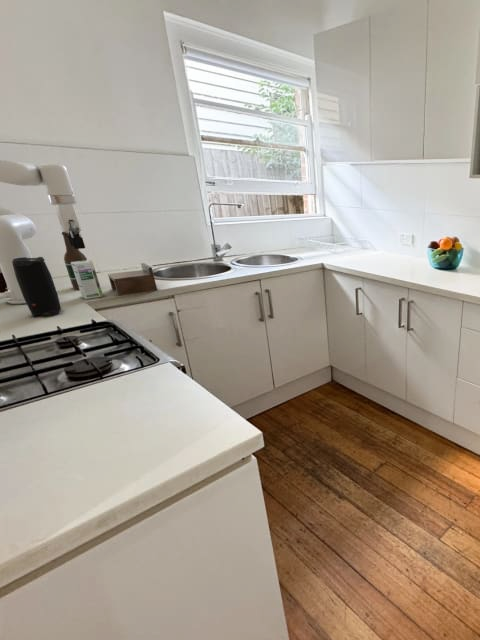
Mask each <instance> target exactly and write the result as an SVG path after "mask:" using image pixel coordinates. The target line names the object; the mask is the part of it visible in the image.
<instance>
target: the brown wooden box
mask: <svg viewBox="0 0 480 640" xmlns="http://www.w3.org/2000/svg"><path fill="white" fill-rule="evenodd" d="M140 266H141V269H140V270H131V271H121V272H113V273H112V272H111V273H108V274H107V277H108V280H109V284H110V286H111V290H112V291H116V292H117V296H125V295H133V294H138V293H139V294H140V293H146V292H153V291H158V288H157V283H156V279H155V275H154V271H153V267H152V266H150V265H148V264H147V263H145V262H142V263H140Z"/></svg>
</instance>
